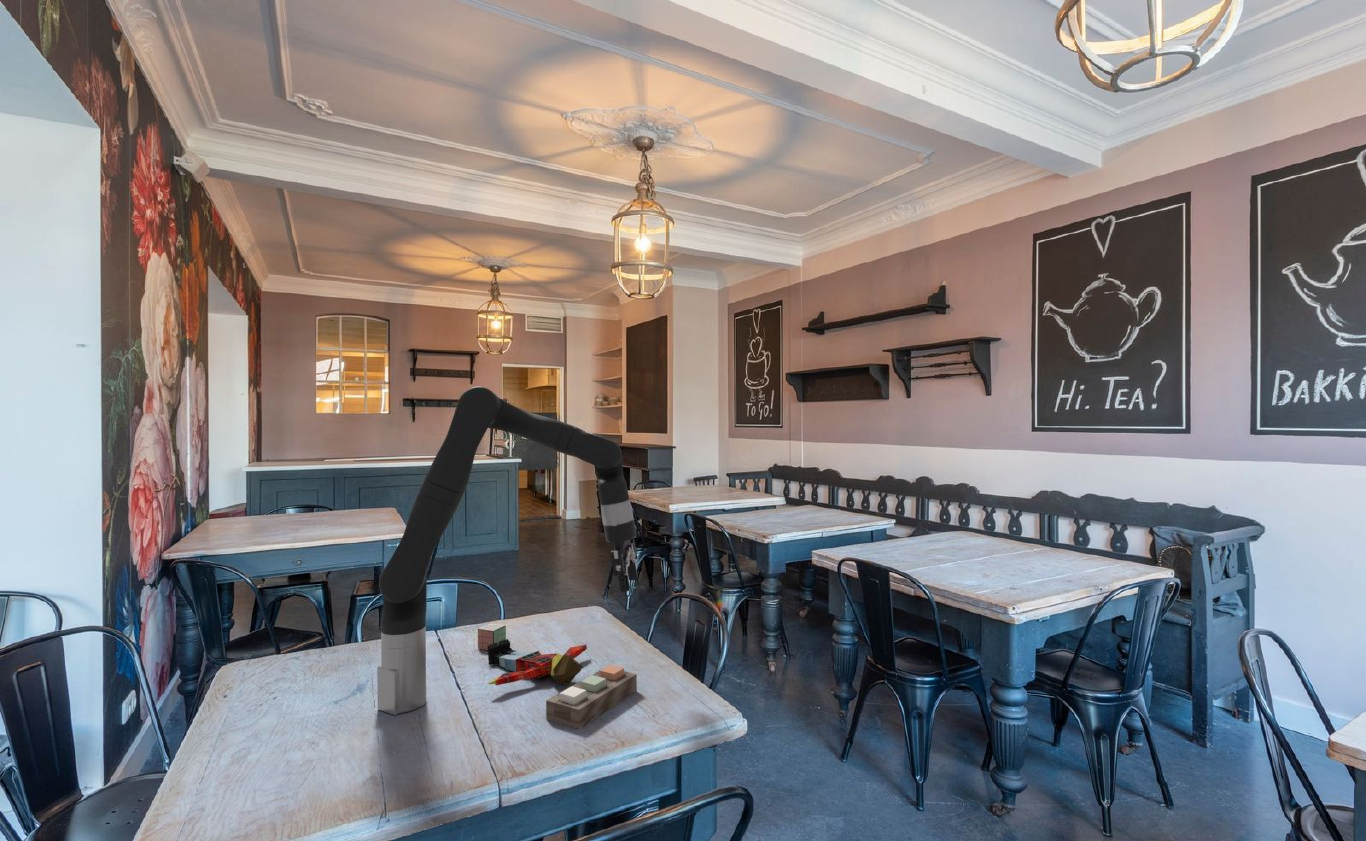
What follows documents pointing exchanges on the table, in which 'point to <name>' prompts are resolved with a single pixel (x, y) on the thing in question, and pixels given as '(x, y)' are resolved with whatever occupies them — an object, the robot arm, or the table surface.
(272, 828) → the table surface
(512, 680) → the toy
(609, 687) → the button board
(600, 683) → the sage button
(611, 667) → the terracotta button
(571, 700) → the cream button
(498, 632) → the puzzle toy
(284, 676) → the table surface
